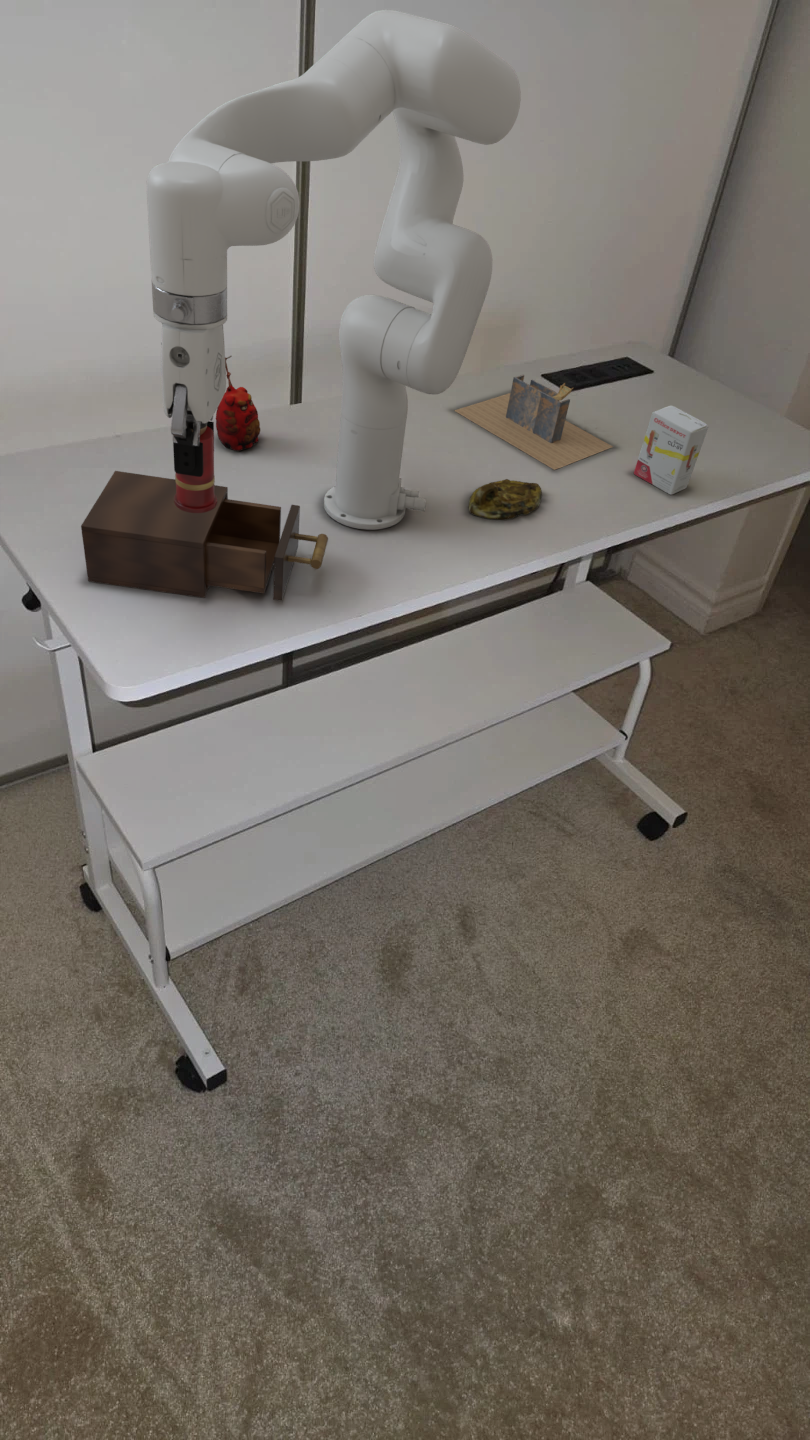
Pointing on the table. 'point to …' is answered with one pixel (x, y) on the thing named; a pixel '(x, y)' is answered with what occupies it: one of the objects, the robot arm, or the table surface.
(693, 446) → the ink box
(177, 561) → the cabinet
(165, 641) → the table surface
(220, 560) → the drawer
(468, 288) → the robot arm
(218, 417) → the red clay folk toy
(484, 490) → the mottled olive oval lump
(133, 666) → the table surface
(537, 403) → the ruin model on sheet
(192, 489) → the red cylinder
